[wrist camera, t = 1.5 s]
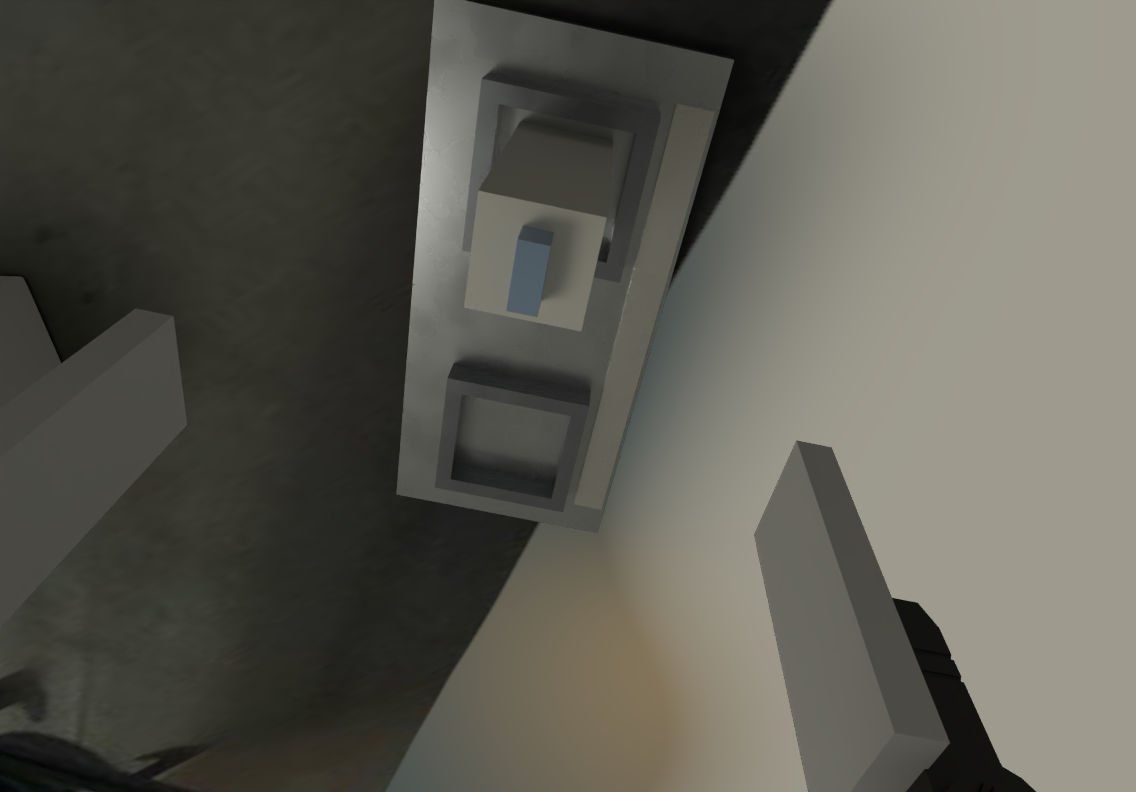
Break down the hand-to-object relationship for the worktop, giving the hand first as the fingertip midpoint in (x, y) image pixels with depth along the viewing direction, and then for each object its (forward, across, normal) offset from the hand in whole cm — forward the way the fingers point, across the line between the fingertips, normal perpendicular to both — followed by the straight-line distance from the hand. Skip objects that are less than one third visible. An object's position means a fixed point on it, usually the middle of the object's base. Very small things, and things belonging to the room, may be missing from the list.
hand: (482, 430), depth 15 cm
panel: (+20, 0, -7) cm, 21 cm away
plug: (+19, 0, 0) cm, 19 cm away
